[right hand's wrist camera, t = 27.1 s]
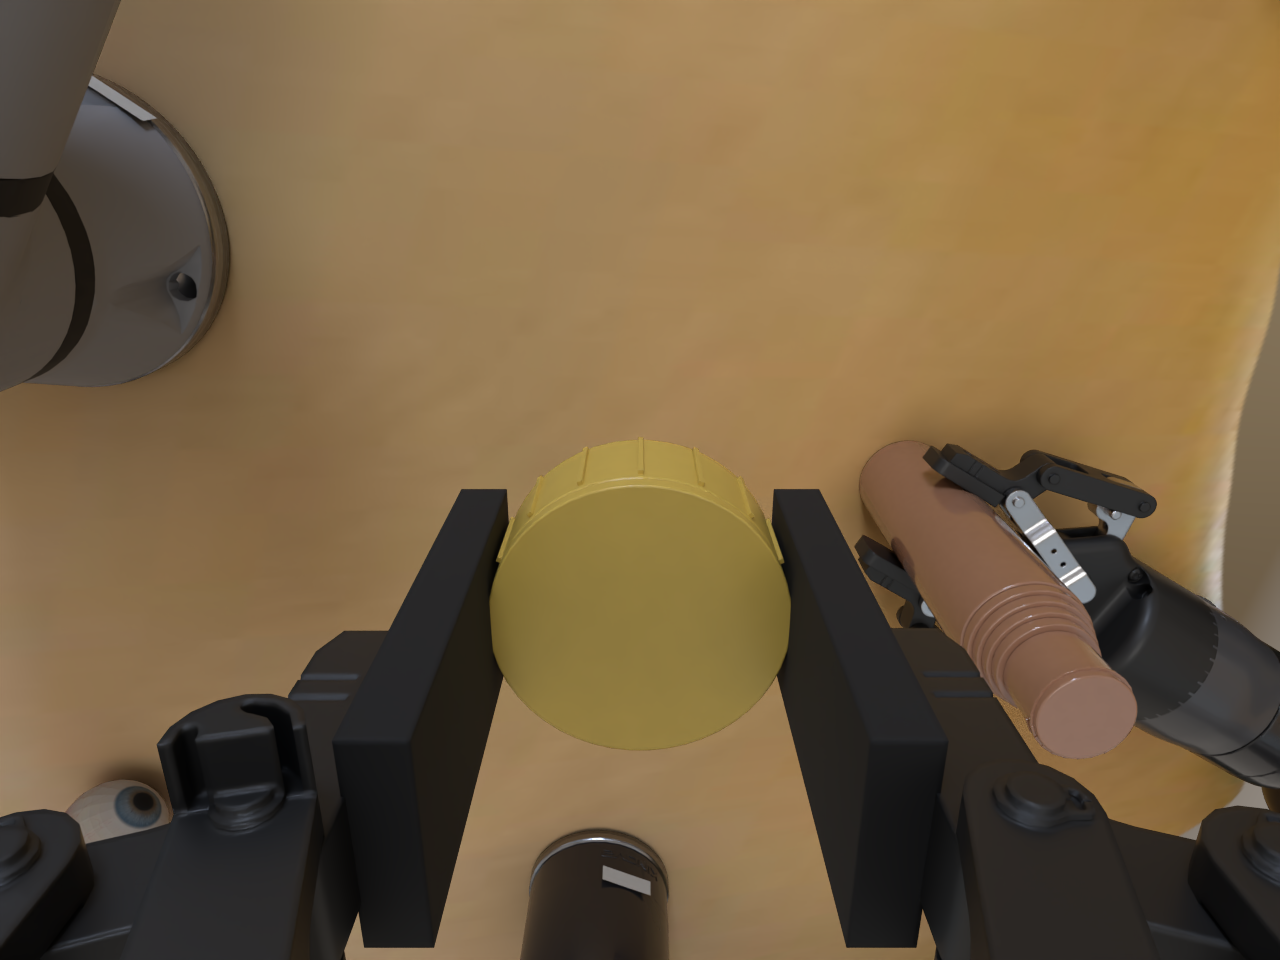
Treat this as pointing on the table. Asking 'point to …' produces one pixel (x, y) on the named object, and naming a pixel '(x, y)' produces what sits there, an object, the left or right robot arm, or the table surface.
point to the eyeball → (118, 810)
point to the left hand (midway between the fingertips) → (896, 504)
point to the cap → (640, 597)
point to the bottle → (999, 604)
